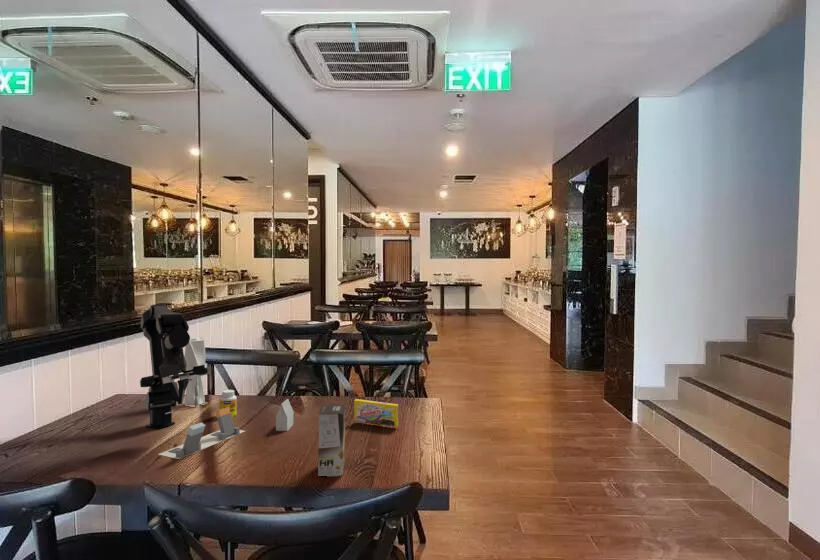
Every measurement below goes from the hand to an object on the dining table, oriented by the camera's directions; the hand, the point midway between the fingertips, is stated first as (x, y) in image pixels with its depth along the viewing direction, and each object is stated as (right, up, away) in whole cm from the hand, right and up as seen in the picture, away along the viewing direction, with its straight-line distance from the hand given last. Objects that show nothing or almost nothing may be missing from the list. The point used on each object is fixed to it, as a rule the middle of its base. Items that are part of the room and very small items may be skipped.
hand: (180, 404), depth 141 cm
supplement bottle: (+6, -12, +23) cm, 26 cm away
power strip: (+9, -12, -3) cm, 15 cm away
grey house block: (+29, -12, +11) cm, 33 cm away
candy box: (+58, -12, +18) cm, 62 cm away
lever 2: (+14, -10, +2) cm, 18 cm away
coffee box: (+49, -12, -18) cm, 54 cm away
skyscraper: (-15, -12, +43) cm, 47 cm away
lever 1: (+8, -10, -12) cm, 18 cm away
